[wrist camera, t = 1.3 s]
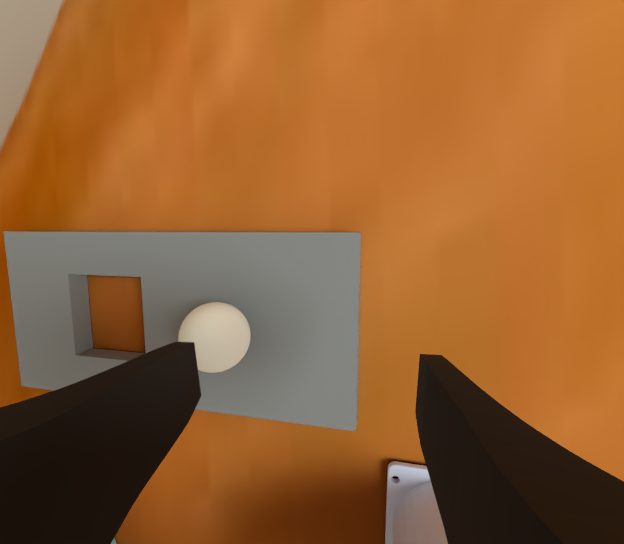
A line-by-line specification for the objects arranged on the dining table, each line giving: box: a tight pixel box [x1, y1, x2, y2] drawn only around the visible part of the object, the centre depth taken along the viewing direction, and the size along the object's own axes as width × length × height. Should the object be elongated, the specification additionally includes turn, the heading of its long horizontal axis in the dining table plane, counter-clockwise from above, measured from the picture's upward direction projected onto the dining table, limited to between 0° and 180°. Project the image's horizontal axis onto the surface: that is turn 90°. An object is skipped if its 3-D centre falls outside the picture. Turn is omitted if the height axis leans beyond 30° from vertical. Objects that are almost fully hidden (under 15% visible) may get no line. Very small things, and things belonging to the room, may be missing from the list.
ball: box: [178, 302, 251, 373], centre depth 19 cm, size 4×4×4 cm
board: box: [4, 232, 361, 431], centre depth 23 cm, size 12×26×2 cm, turn 90°
